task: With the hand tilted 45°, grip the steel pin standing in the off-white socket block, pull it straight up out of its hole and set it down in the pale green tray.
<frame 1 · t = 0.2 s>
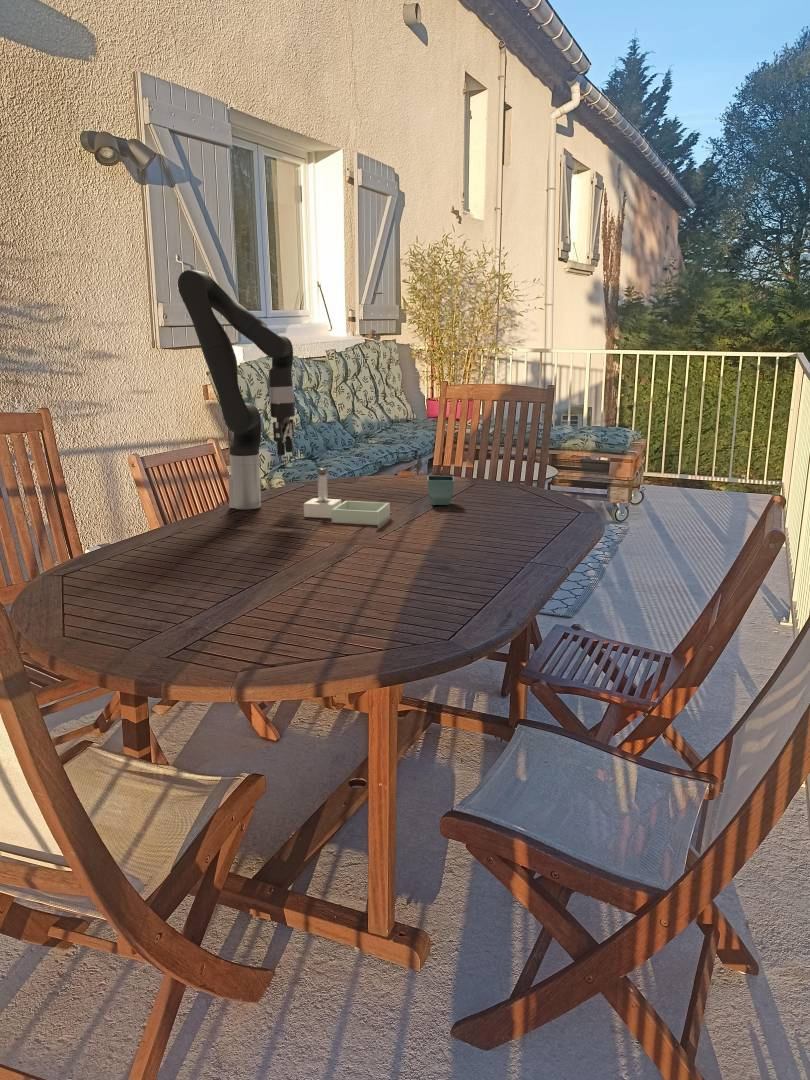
hand: (285, 453, 264), 18 cm above the table, tool pointing down, fingers open, 8 cm apart
tray: (361, 521, 251), on the table
flower pot: (440, 505, 278), on the table
steel pin: (323, 514, 257), point 1 cm above the table, touching socket block
socket block: (323, 517, 257), on the table
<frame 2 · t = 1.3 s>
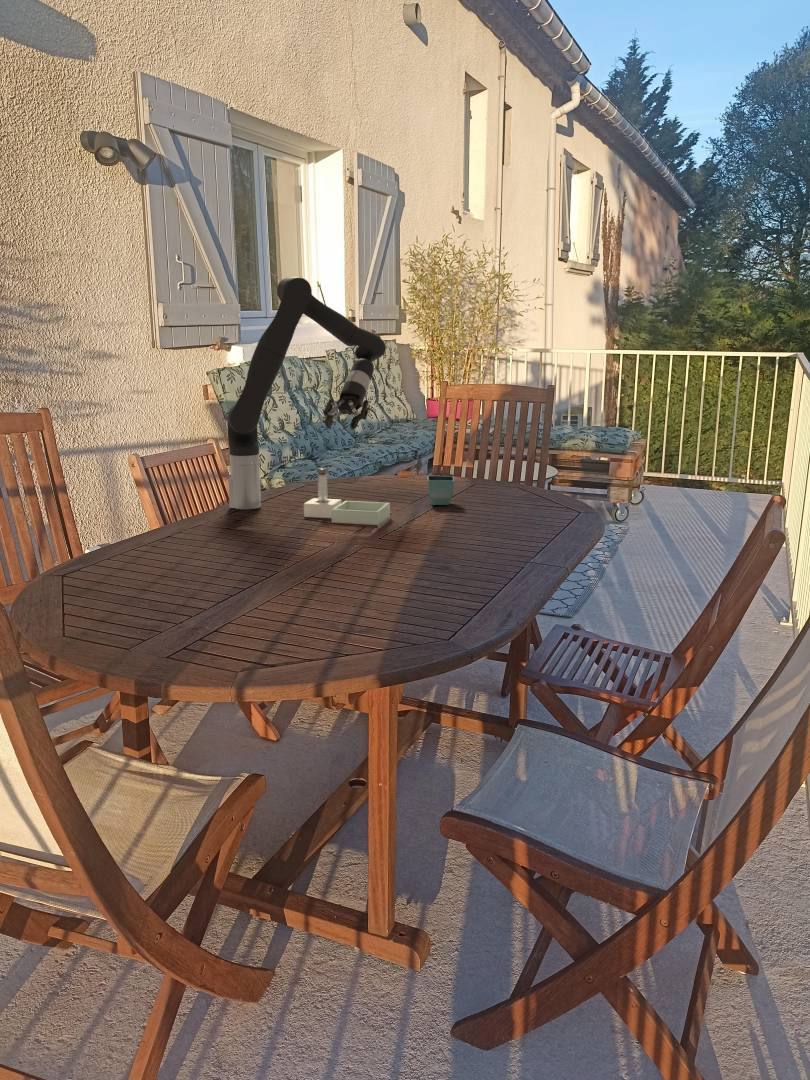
hand: (339, 427, 261), 26 cm above the table, tool tilted 45°, fingers open, 8 cm apart
nothing on the table moved.
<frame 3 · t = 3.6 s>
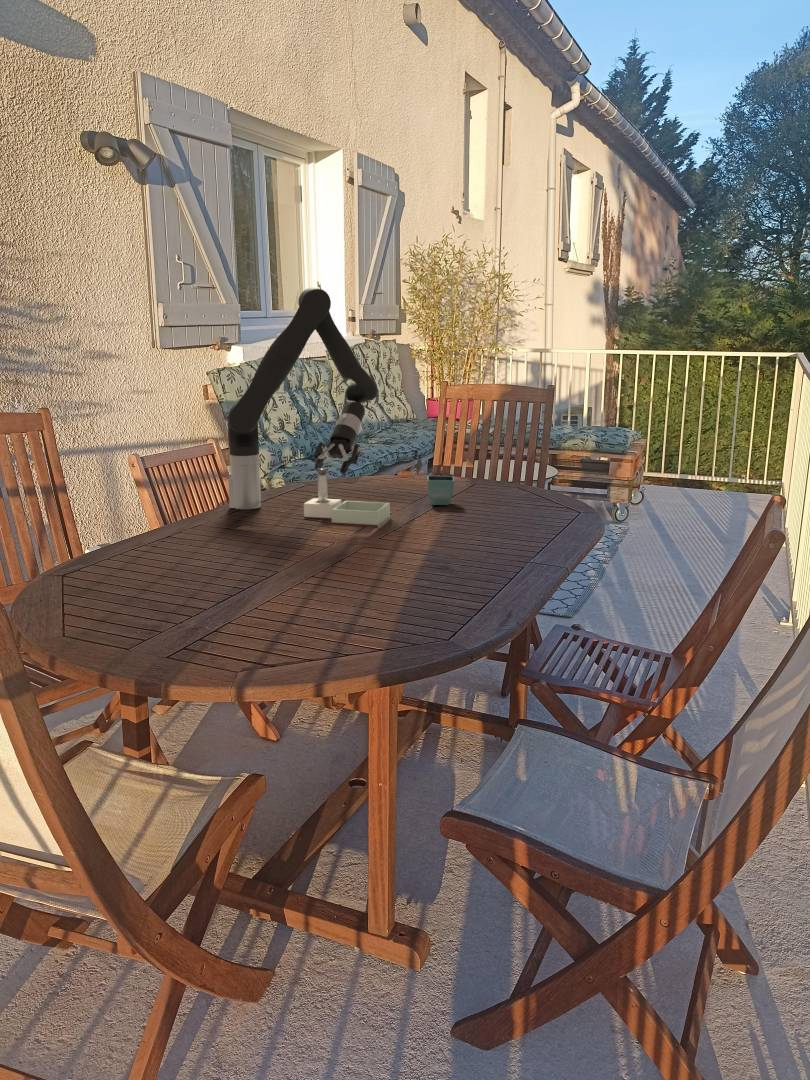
hand: (329, 472, 258), 13 cm above the table, tool tilted 45°, fingers open, 8 cm apart
nothing on the table moved.
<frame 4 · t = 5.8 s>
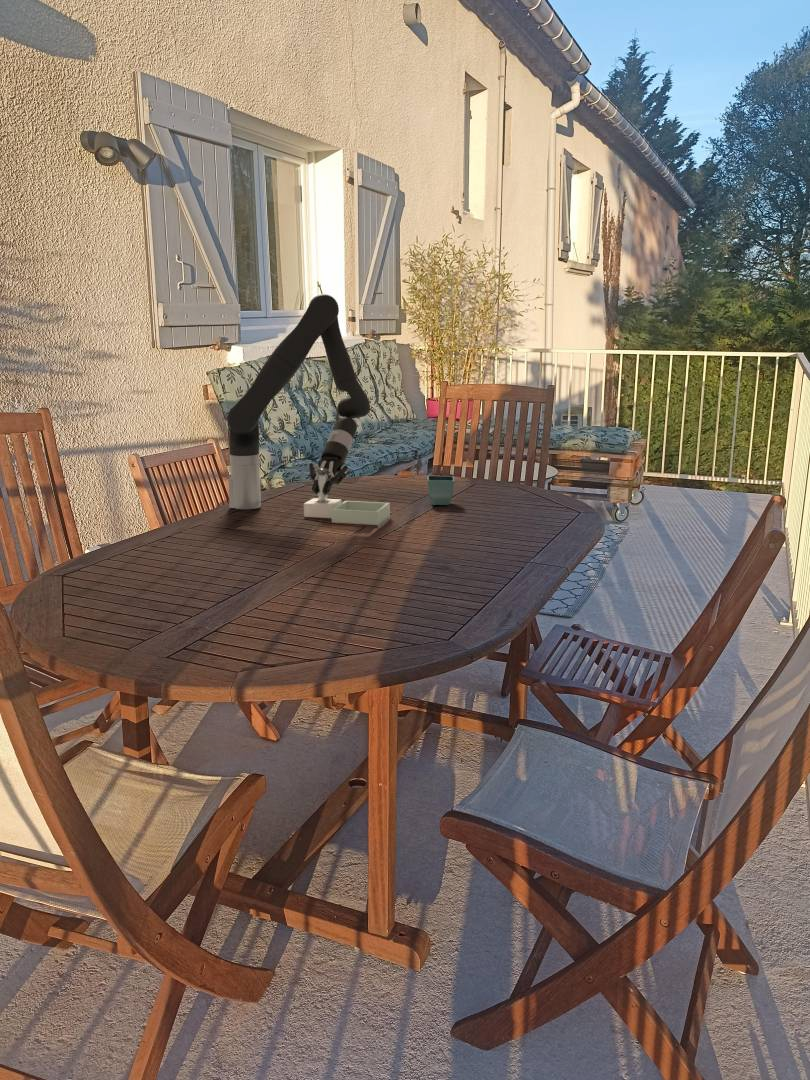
hand: (319, 492, 253), 8 cm above the table, tool tilted 45°, fingers closed on steel pin, 2 cm apart
steel pin: (323, 514, 257), point 1 cm above the table, touching gripper, socket block
everything else where it was.
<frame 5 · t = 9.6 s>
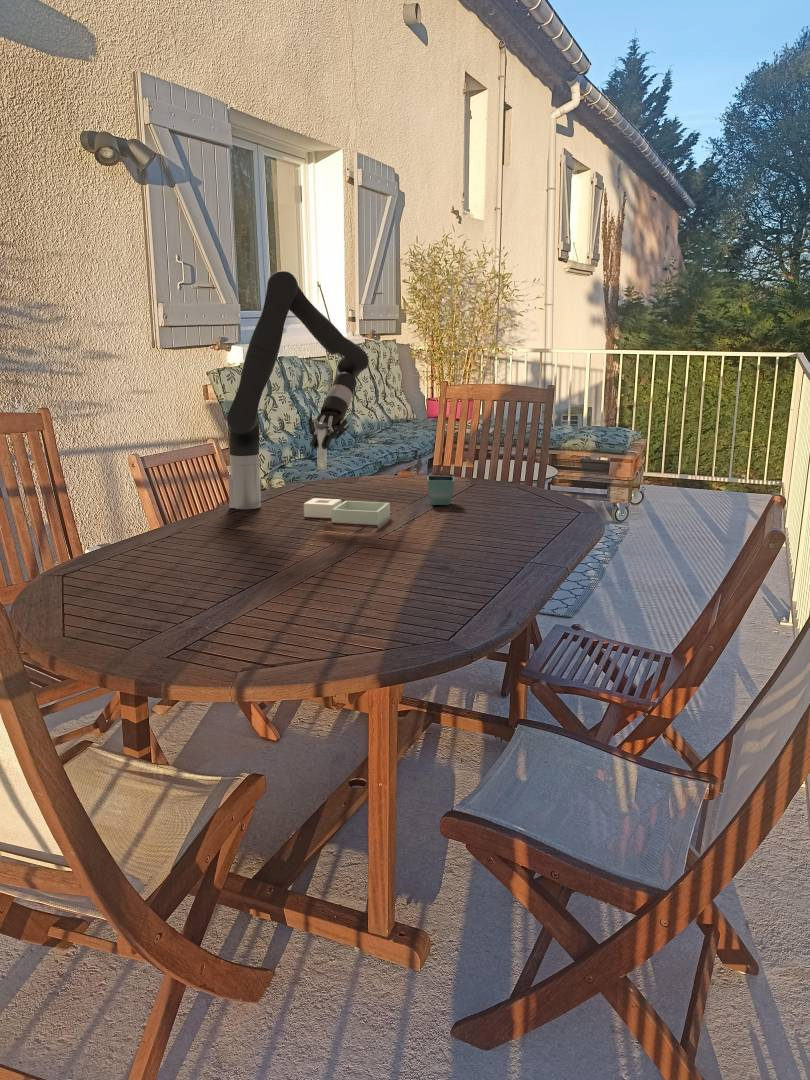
hand: (318, 447, 250), 22 cm above the table, tool tilted 45°, fingers closed on steel pin, 2 cm apart
steel pin: (322, 469, 253), point 15 cm above the table, touching gripper
everything else where it was.
when the fingers open (9 cm above the table, at t = 13.2 s): steel pin drops 1 cm, resting on tray.
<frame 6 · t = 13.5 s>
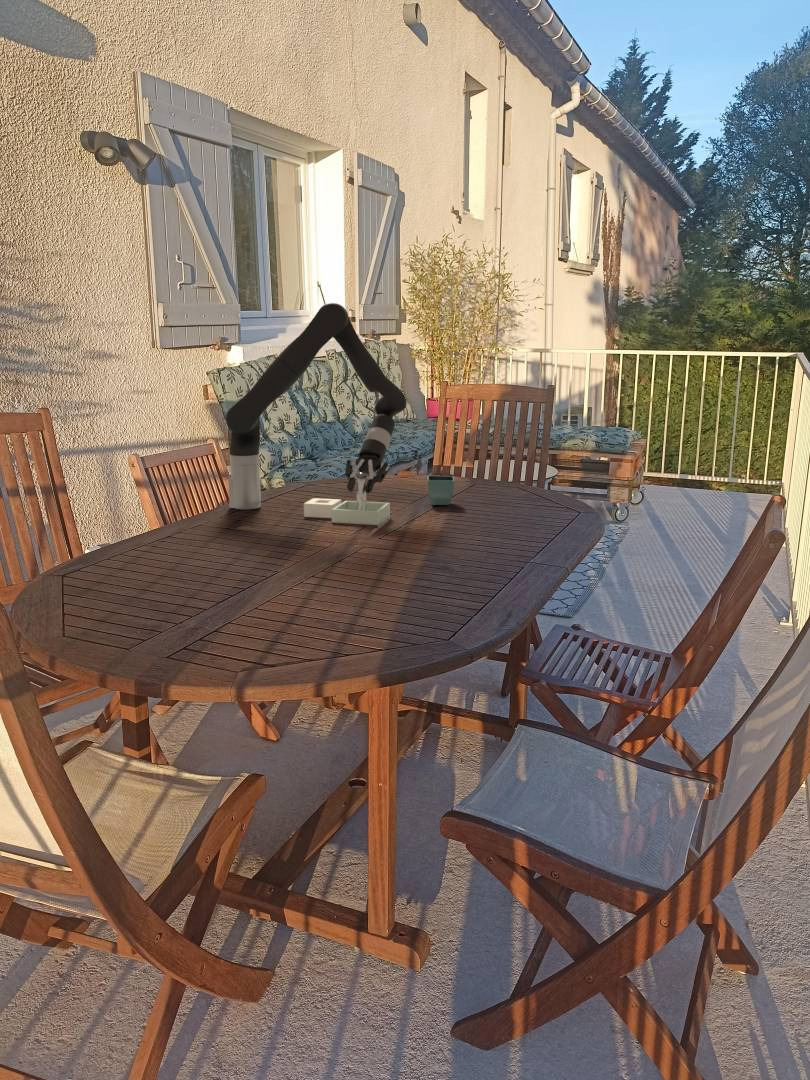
hand: (358, 491, 247), 10 cm above the table, tool tilted 45°, fingers open, 5 cm apart
steel pin: (361, 519, 251), point 1 cm above the table, touching tray
everything else where it was.
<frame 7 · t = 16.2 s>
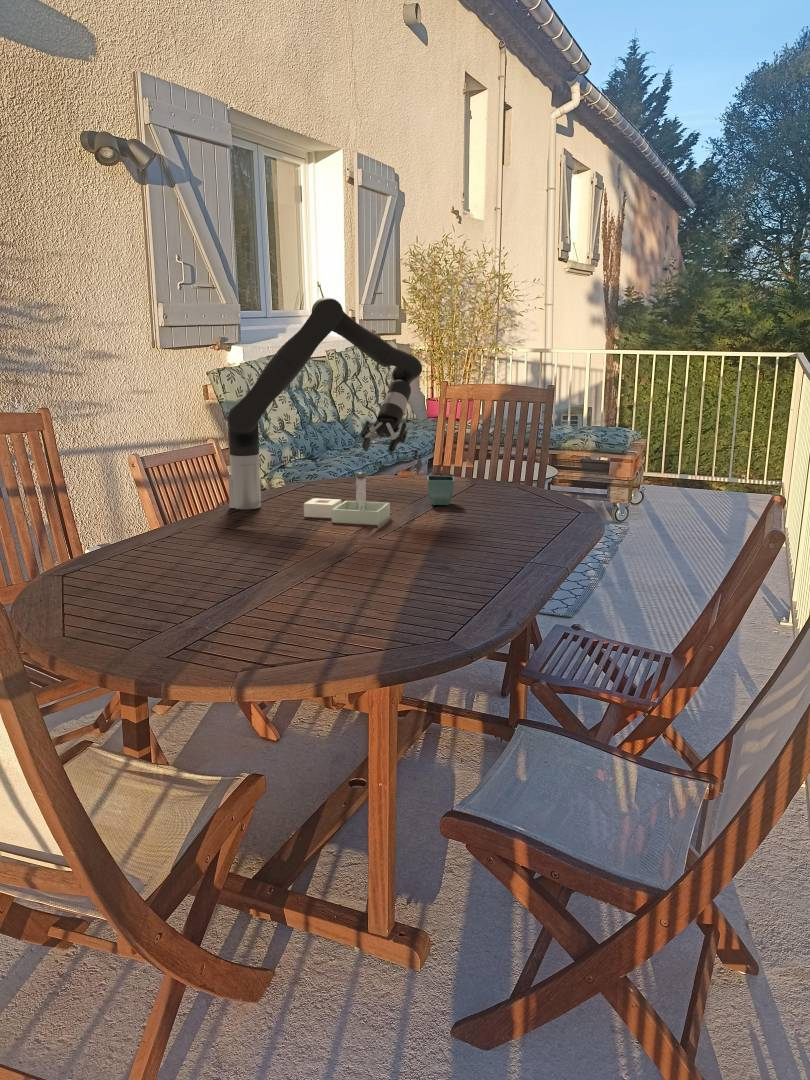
hand: (377, 450, 257), 20 cm above the table, tool tilted 45°, fingers open, 8 cm apart
nothing on the table moved.
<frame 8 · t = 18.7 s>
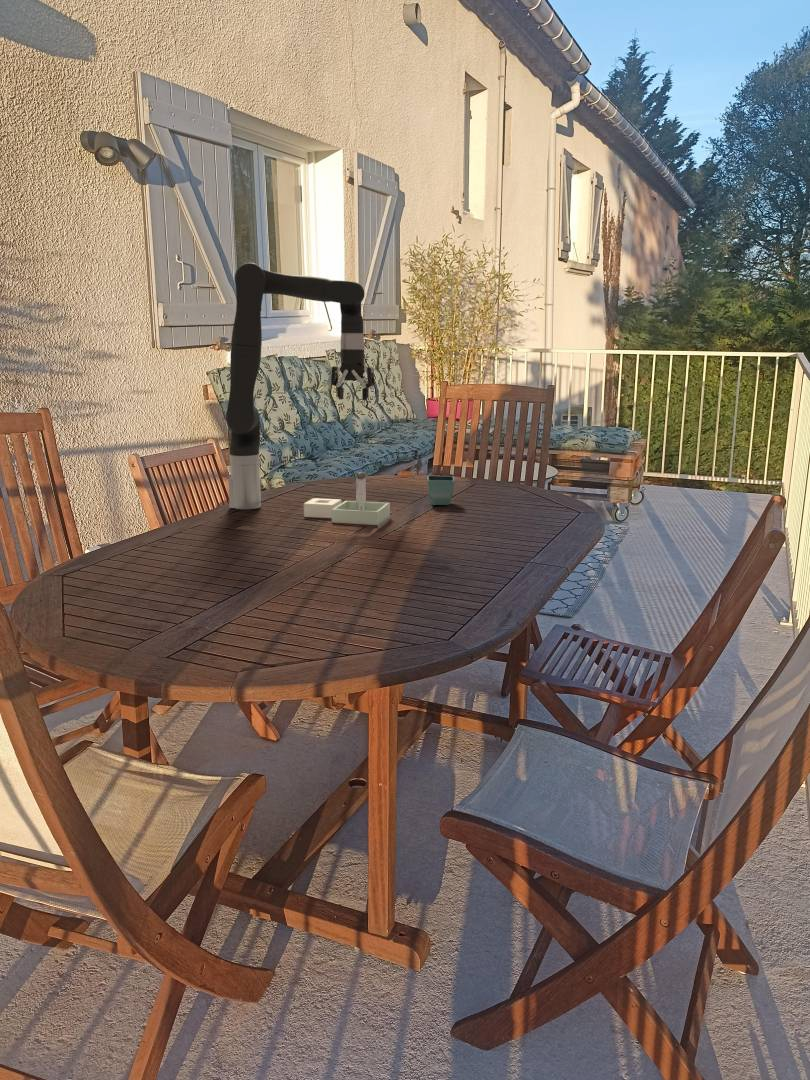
hand: (352, 399, 270), 34 cm above the table, tool pointing down, fingers open, 8 cm apart
nothing on the table moved.
at the end: steel pin inside the target area on the tray (0.1 cm from its centre), point 0.8 cm above the tray's base; the gripper is holding nothing; steel pin moved 13.3 cm from its start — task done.
